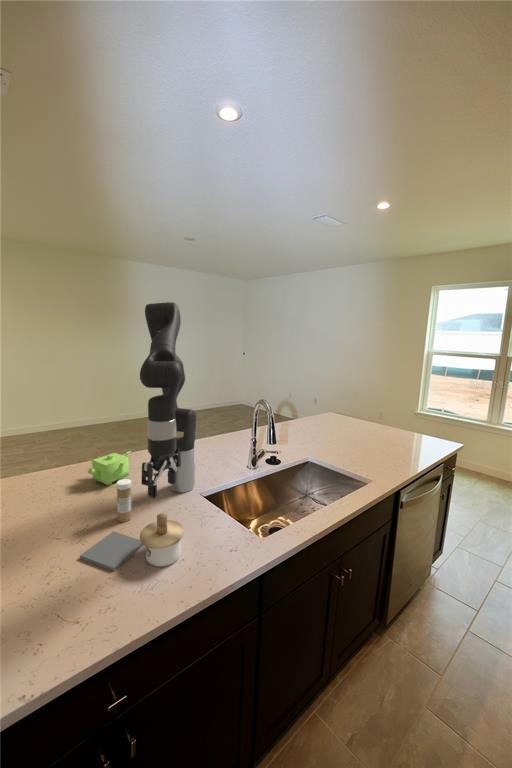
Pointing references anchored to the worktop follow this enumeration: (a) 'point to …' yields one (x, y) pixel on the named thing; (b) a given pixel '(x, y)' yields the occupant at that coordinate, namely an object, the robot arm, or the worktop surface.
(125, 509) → the sprinkles bottle
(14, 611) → the worktop surface
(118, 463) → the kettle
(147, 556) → the mug
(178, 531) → the lid
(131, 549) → the mat
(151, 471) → the robot arm
